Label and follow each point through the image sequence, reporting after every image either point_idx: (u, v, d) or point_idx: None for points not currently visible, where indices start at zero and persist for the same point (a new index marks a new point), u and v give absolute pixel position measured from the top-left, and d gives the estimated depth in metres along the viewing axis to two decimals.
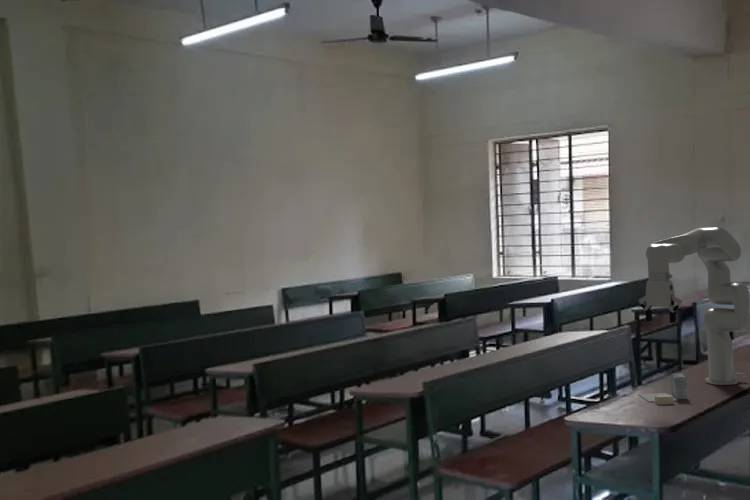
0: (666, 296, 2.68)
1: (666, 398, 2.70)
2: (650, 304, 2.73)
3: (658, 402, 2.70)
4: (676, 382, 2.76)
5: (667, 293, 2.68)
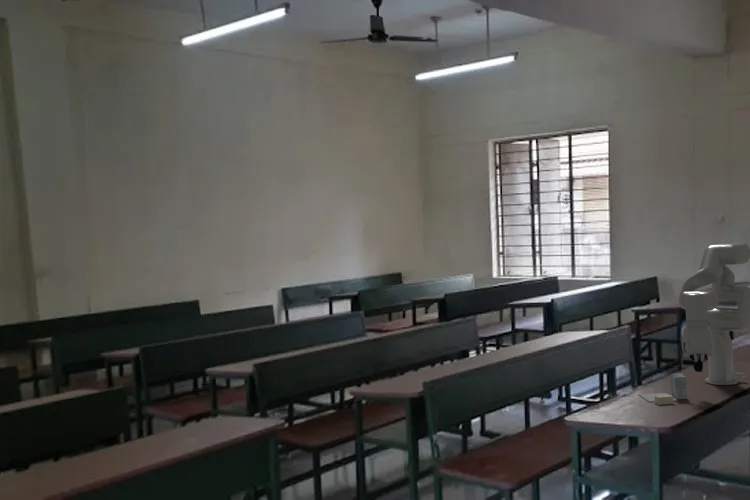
0: (709, 343, 2.77)
1: (666, 398, 2.70)
2: (692, 352, 2.77)
3: (659, 402, 2.70)
4: (676, 382, 2.76)
5: (710, 340, 2.77)
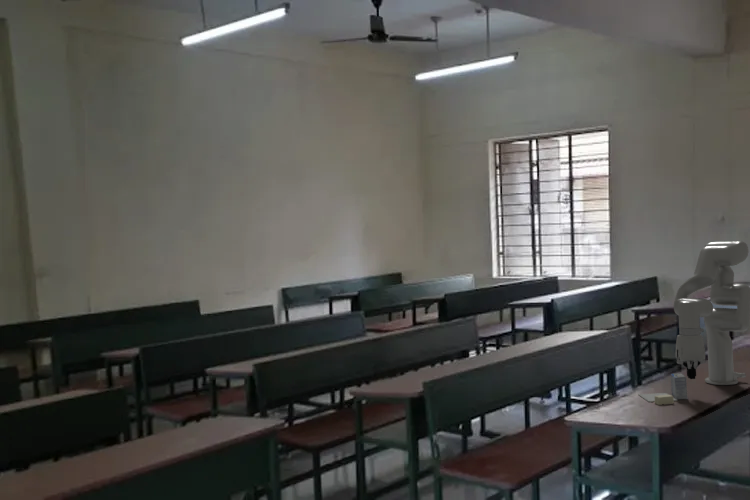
0: (702, 350, 2.77)
1: (667, 398, 2.70)
2: (685, 359, 2.77)
3: (660, 402, 2.70)
4: (676, 382, 2.76)
5: (703, 347, 2.77)
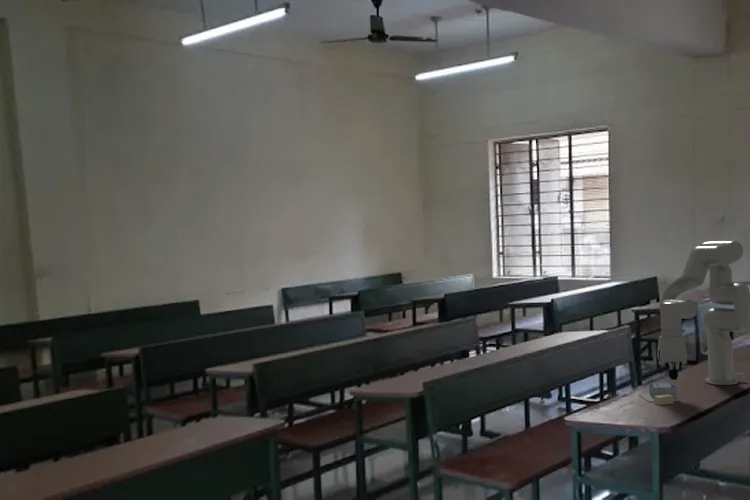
0: (684, 351, 2.77)
1: (667, 398, 2.70)
2: (667, 360, 2.78)
3: (660, 402, 2.70)
4: None
5: (685, 348, 2.77)
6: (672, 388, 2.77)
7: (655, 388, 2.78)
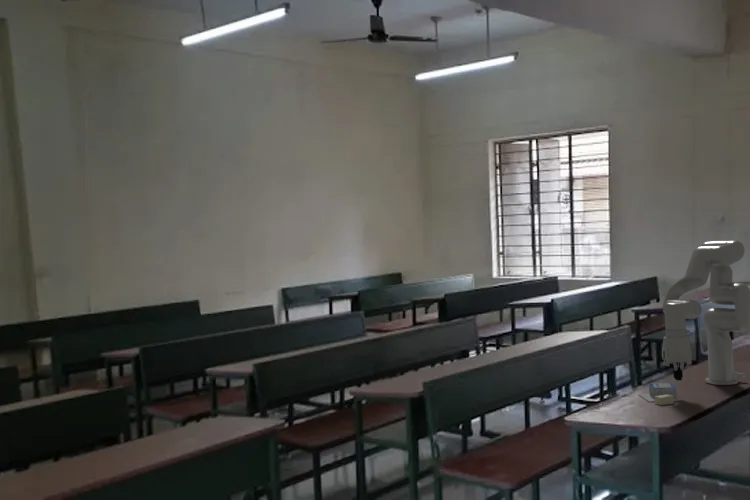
0: (689, 351, 2.77)
1: (667, 398, 2.70)
2: (672, 361, 2.78)
3: (661, 403, 2.69)
4: None
5: (690, 348, 2.77)
6: (672, 388, 2.77)
7: (655, 388, 2.78)
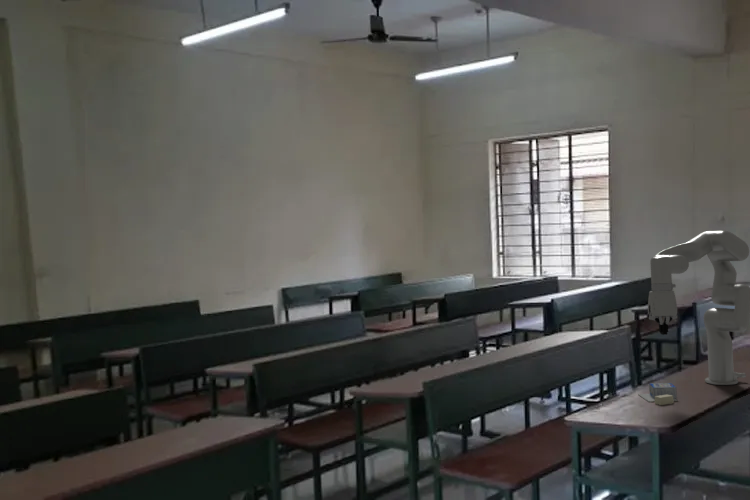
0: (674, 305, 2.77)
1: (667, 398, 2.70)
2: (657, 314, 2.77)
3: (661, 403, 2.69)
4: None
5: (675, 302, 2.77)
6: (672, 388, 2.77)
7: (655, 388, 2.78)
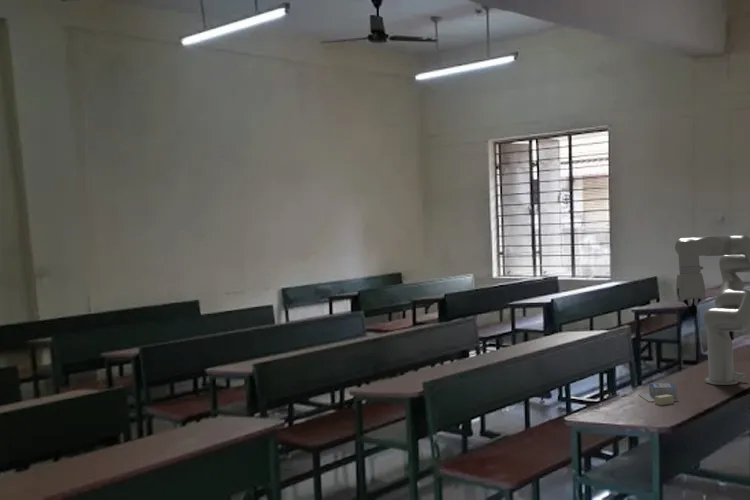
0: (702, 287, 2.83)
1: (667, 398, 2.70)
2: (686, 297, 2.84)
3: (661, 403, 2.69)
4: None
5: (703, 284, 2.83)
6: (672, 388, 2.77)
7: (655, 388, 2.78)
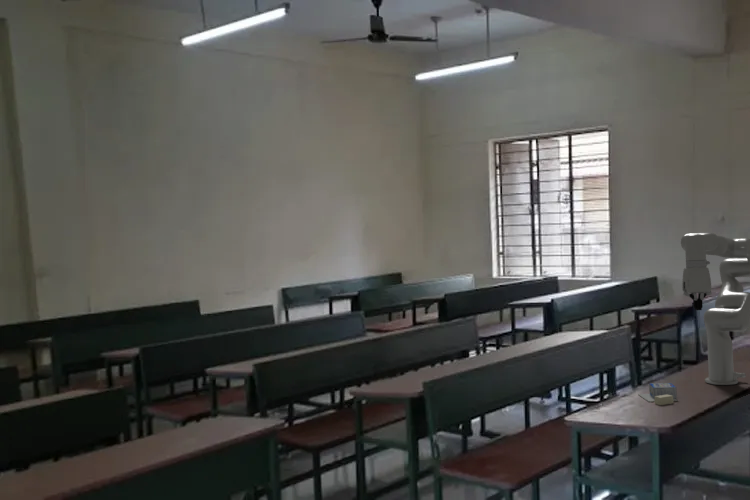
0: (709, 281, 2.84)
1: (667, 398, 2.70)
2: (692, 290, 2.85)
3: (661, 403, 2.69)
4: None
5: (709, 278, 2.84)
6: (672, 388, 2.77)
7: (655, 388, 2.78)
